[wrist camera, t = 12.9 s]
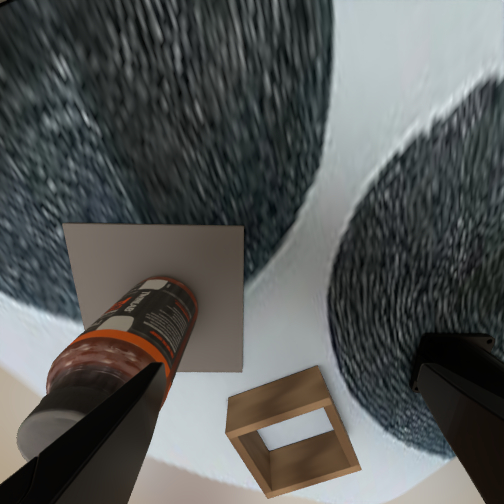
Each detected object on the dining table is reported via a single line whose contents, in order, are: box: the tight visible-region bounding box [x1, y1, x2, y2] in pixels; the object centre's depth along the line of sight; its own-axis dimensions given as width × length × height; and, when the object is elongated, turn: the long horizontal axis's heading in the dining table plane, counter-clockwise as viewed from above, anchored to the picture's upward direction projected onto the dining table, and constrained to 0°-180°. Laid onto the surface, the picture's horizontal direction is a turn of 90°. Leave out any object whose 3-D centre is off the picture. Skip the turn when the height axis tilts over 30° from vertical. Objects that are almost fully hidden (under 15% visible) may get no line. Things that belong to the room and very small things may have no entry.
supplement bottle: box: [17, 277, 198, 462], centre depth 15 cm, size 6×6×11 cm
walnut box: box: [225, 366, 362, 499], centre depth 23 cm, size 10×10×4 cm
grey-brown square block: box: [62, 223, 244, 372], centre depth 20 cm, size 14×14×1 cm
